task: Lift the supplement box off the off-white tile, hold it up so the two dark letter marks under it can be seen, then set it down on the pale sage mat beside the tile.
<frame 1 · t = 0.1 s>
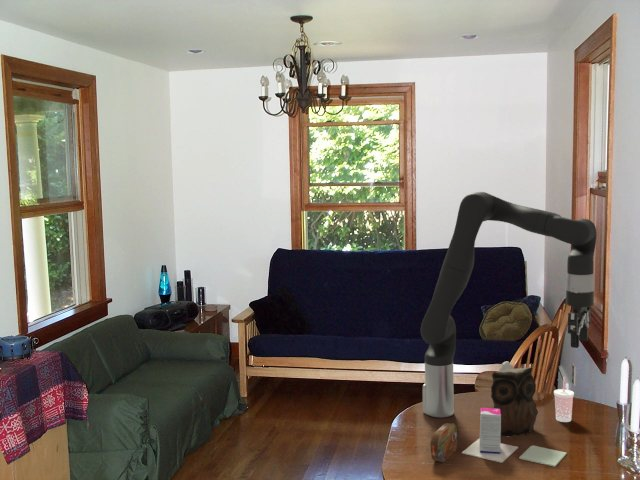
hand: (579, 343, 212), 29 cm above the table, tool pointing down, fingers open, 8 cm apart
supplement box: (490, 450, 210), resting on code tile
chess piece: (508, 404, 248), on the table
sage mat: (543, 456, 205), on the table
code tile: (490, 450, 210), on the table
beverage cup: (563, 420, 233), on the table
owl: (511, 429, 226), on the table
tin: (444, 456, 208), on the table
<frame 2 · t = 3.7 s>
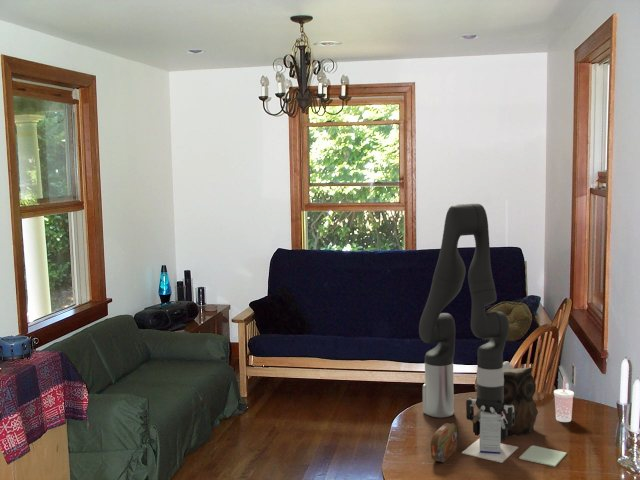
hand: (490, 437, 210), 4 cm above the table, tool pointing down, fingers closed on supplement box, 7 cm apart
supplement box: (490, 450, 210), resting on code tile, touching gripper
everything else where it was.
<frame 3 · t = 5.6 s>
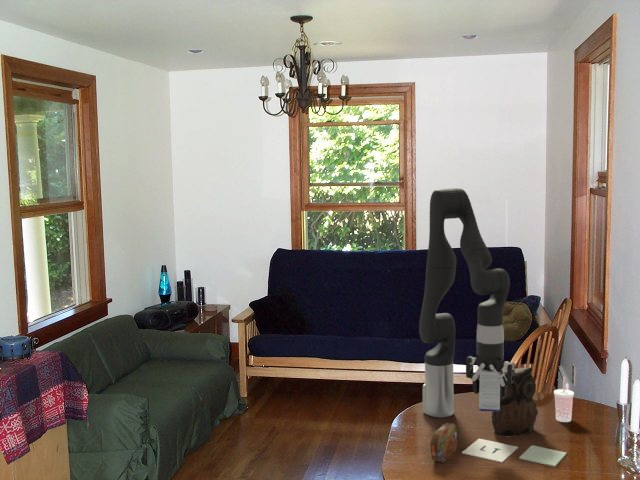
hand: (489, 395, 209), 16 cm above the table, tool pointing down, fingers closed on supplement box, 7 cm apart
supplement box: (489, 408, 209), point 12 cm above the table, touching gripper
everything else where it was.
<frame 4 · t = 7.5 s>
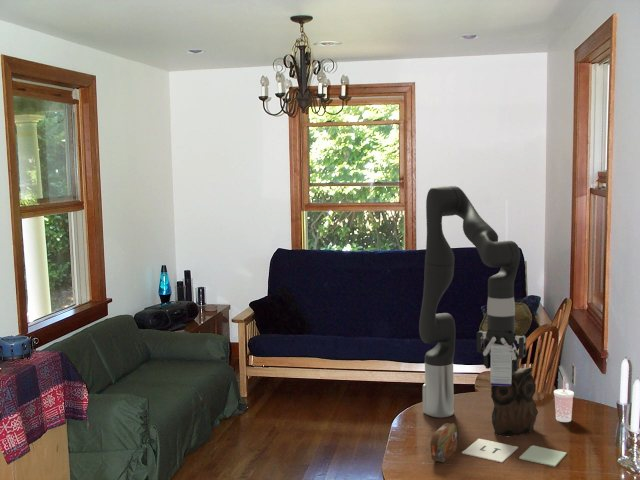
hand: (501, 369, 206), 24 cm above the table, tool pointing down, fingers closed on supplement box, 7 cm apart
supplement box: (501, 383, 207), point 20 cm above the table, touching gripper
everything else where it was.
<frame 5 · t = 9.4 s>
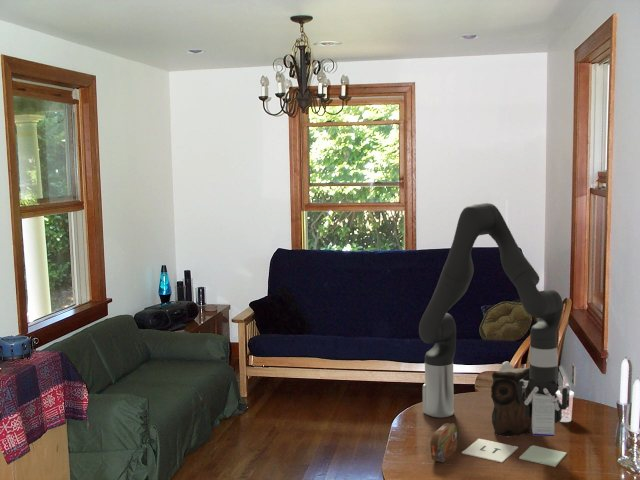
hand: (543, 419, 204), 11 cm above the table, tool pointing down, fingers closed on supplement box, 7 cm apart
supplement box: (543, 433, 205), point 7 cm above the table, touching gripper
everything else where it was.
when the fingers open (5 cm above the table, at t = 11.3 s): supplement box stays where it is, resting on sage mat.
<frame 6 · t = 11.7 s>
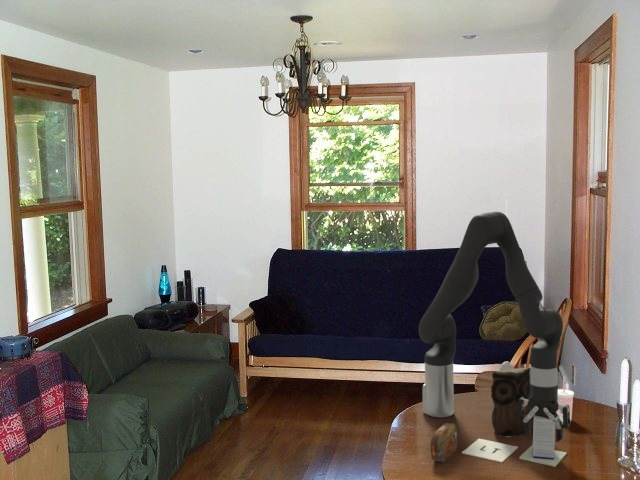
hand: (543, 437, 205), 5 cm above the table, tool pointing down, fingers open, 8 cm apart
supplement box: (543, 455, 205), resting on sage mat
everything else where it was.
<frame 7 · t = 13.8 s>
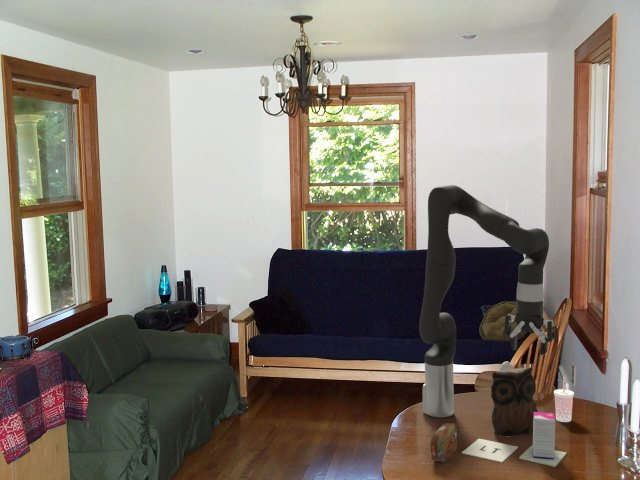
hand: (528, 352, 214), 27 cm above the table, tool pointing down, fingers open, 8 cm apart
nothing on the table moved.
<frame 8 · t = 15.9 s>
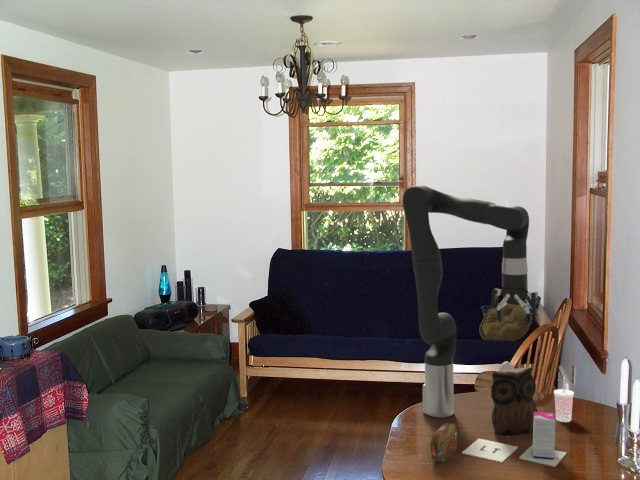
hand: (514, 323, 227), 32 cm above the table, tool pointing down, fingers open, 8 cm apart
nothing on the table moved.
at the end: supplement box inside the target area on the sage mat (0.1 cm from its centre), point 0.2 cm above the sage mat's base; supplement box tilted 0°; supplement box touching sage mat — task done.
